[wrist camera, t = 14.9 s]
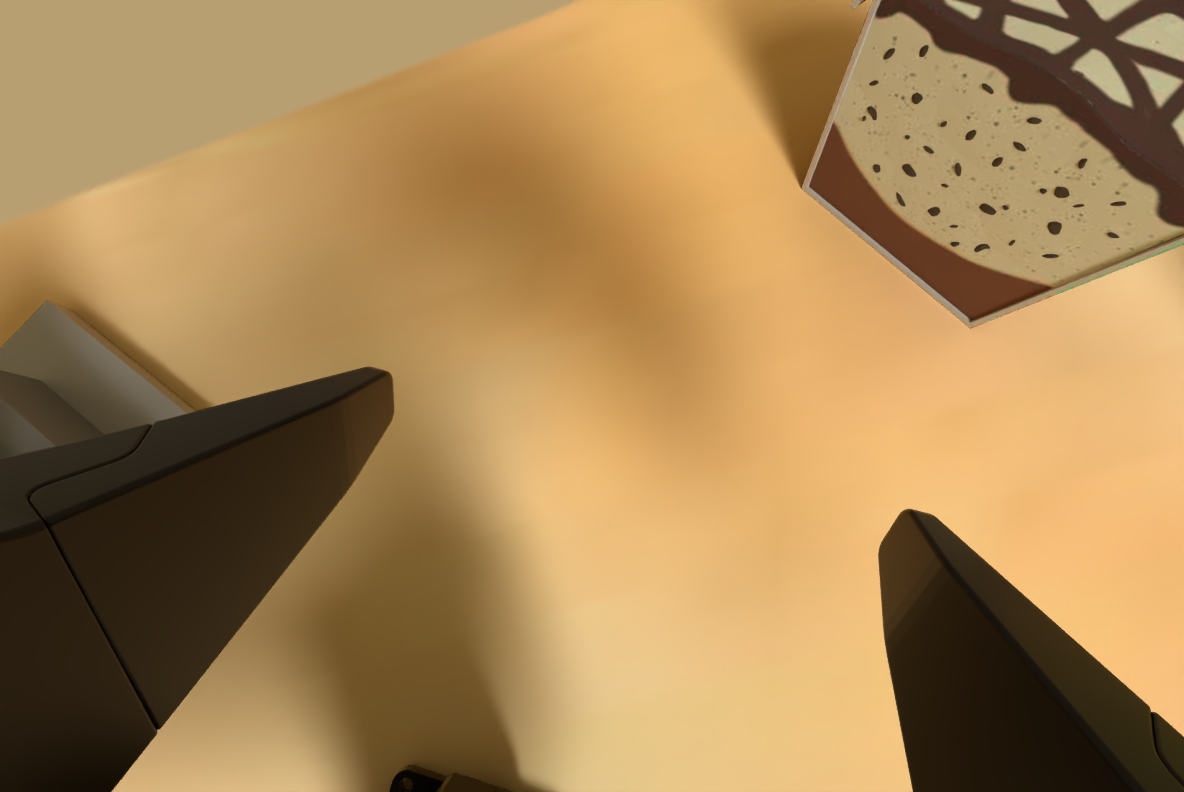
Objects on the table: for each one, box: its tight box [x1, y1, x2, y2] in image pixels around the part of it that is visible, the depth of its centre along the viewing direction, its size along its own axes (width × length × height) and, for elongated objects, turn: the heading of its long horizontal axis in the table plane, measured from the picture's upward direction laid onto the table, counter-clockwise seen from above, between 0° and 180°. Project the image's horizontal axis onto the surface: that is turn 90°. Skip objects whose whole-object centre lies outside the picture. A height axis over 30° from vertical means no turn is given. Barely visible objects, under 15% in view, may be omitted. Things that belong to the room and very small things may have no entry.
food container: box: [801, 0, 1184, 329], centre depth 19 cm, size 12×6×10 cm, turn 43°
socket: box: [0, 300, 195, 458], centre depth 20 cm, size 14×14×4 cm
